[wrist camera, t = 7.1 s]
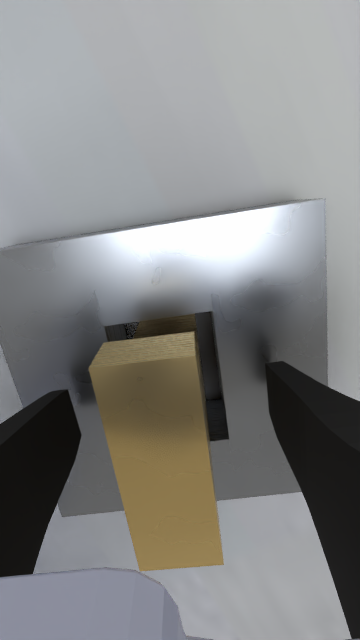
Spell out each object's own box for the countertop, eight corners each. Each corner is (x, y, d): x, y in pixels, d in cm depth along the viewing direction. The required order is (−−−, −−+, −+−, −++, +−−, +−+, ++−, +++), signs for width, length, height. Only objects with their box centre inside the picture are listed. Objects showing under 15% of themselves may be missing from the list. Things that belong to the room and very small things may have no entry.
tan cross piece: (158, 418, 17) (139, 571, 10) (135, 289, 15) (88, 367, 8) (207, 413, 17) (223, 564, 10) (190, 282, 15) (195, 355, 8)
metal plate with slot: (81, 468, 18) (62, 516, 15) (11, 245, 14) (-32, 255, 11) (305, 442, 17) (328, 488, 14) (295, 200, 13) (325, 198, 11)
